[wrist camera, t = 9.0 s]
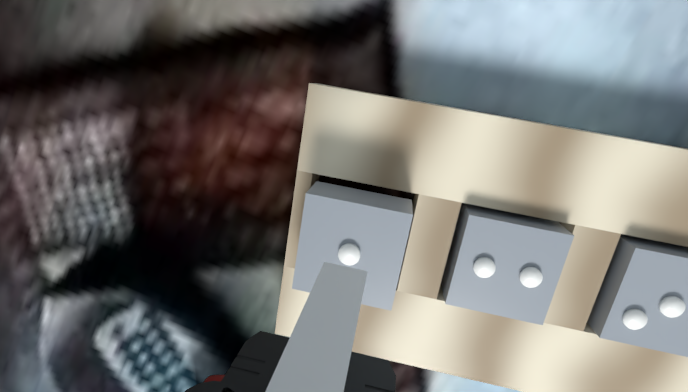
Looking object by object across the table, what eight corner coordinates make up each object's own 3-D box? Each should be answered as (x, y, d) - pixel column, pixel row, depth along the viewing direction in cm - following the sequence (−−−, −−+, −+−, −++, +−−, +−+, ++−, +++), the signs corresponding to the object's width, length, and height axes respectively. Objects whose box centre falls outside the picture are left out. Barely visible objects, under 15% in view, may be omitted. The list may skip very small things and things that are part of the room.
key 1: (303, 267, 21) (290, 290, 19) (316, 181, 20) (304, 194, 18) (392, 286, 21) (391, 313, 19) (411, 199, 20) (413, 216, 17)
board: (286, 311, 25) (274, 333, 23) (318, 83, 21) (309, 83, 19) (650, 394, 23) (677, 427, 21) (759, 161, 19) (807, 171, 17)
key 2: (440, 282, 22) (445, 305, 20) (461, 200, 21) (469, 216, 19) (527, 300, 22) (544, 327, 20) (555, 219, 21) (576, 237, 18)
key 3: (578, 311, 22) (601, 340, 19) (609, 229, 20) (638, 249, 18) (671, 331, 21) (706, 363, 19) (708, 249, 20) (752, 272, 18)
